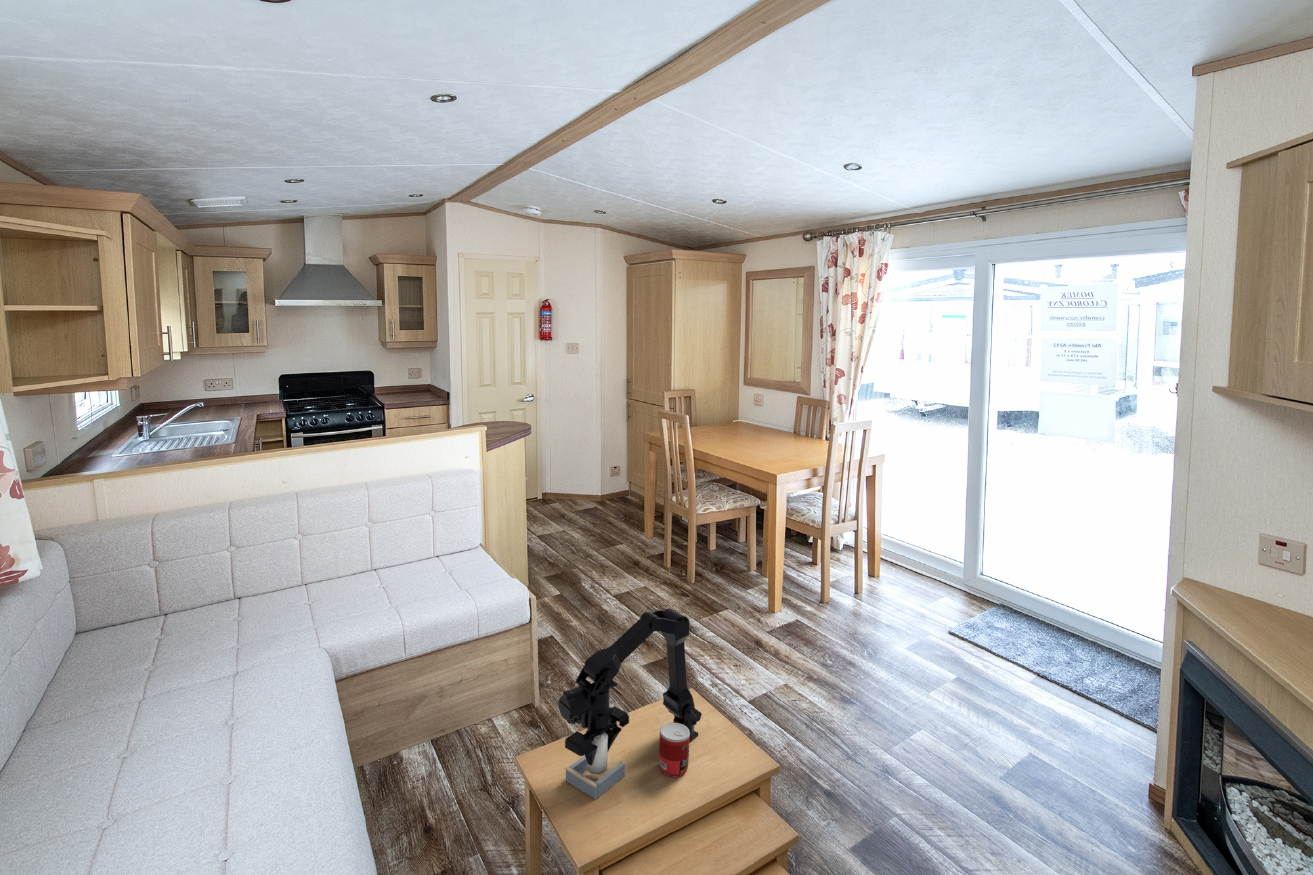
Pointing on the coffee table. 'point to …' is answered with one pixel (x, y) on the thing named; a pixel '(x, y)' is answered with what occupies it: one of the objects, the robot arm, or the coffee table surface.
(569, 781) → the bracket
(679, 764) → the canned food
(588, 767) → the roll
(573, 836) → the coffee table surface
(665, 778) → the coffee table surface
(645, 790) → the coffee table surface
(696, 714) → the robot arm
